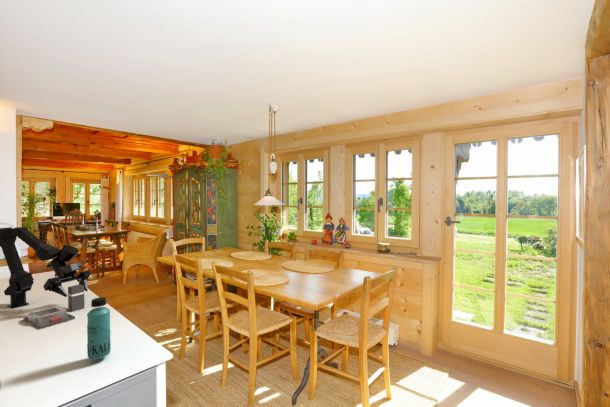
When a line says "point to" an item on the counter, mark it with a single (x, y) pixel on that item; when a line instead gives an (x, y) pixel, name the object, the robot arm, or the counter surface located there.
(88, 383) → the counter surface
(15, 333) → the counter surface
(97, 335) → the beverage bottle
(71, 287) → the plug block
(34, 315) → the grey socket base
